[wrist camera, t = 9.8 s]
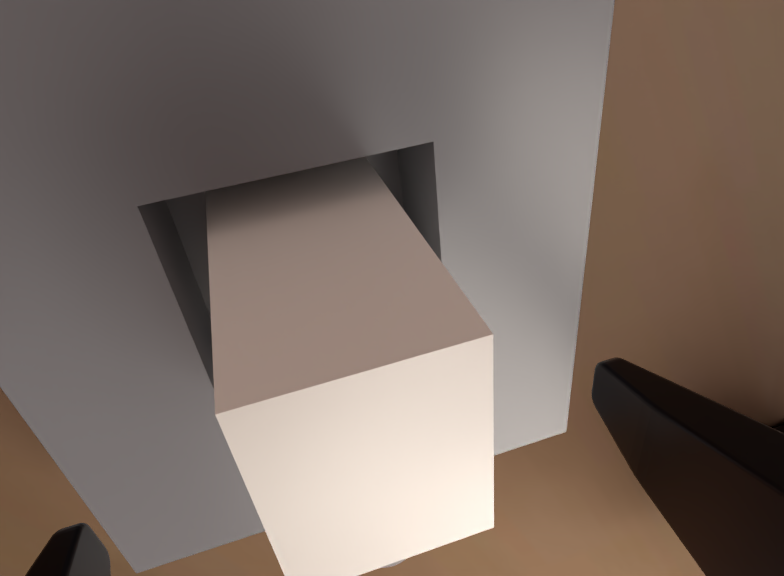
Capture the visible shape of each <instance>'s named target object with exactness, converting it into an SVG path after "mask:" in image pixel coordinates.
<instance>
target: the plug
mask: <svg viewBox="0 0 784 576" xmlns="http://www.w3.org/2000/svg"><path fill="white" fill-rule="evenodd" d="M205 195H206V218H207V241H208V264H209V287H210V310H211V333H212V356H213V378H214V401H215V416H216V418H217V420H218V422H219V425H220V427H221V429H222V432H223V434H224V436H225V439H226V441H227V443H228V446H229V448H230V450H231V453H232V455H233V457H234V460H235V462H236V464H237V466H238V469H239V471H240V473H241V476H242V478H243V480H244V483H245V485H246V487H247V490H248V492H249V494H250V497H251V499H252V501H253V503H254V506H255V508H256V510H257V513H258V515H259V517H260V520H261V522H262V524H263V527H264V529H265V531H266V534H267V536H268V538H269V541H270V543H271V545H272V547H273V550H274V552H275V554H276V557H277V559H278V561H279V564H280V566H281V568H282V571H283V573H284V575H285V576H358V575H361V574H364V573H366V572H369V571H372V570H375V569H378V568H386V567H391V566H395V565H397V564H399V563H401V562H403V561H404V560H405V559H407V558H409V557H412V556H414V555H417V554H420V553H423V552H426V551H429V550H431V549H434V548H437V547H440V546H443V545H446V544H448V543H451V542H454V541H457V540H460V539H463V538H465V537H468V536H471V535H474V534H477V533H479V532H482V531H485V530H488V529H491V528H494V396H493V333H492V332H491V330H490V329H489V328H488V326H487V325H486V323H485V322H484V321H483V319H482V318H481V317H480V315H479V314H478V312H477V311H476V310H475V308H474V307H473V305H472V304H471V303H470V301H469V300H468V298H467V297H466V296H465V294H464V293H463V292H462V290H461V289H460V287H459V286H458V285H457V283H456V282H455V280H454V279H453V278H452V276H451V275H450V273H449V272H448V271H447V269H446V268H445V267H444V265H443V264H442V262H441V261H440V260H439V258H438V257H437V255H436V254H435V253H434V251H433V250H432V248H431V247H430V246H429V244H428V243H427V242H426V240H425V239H424V237H423V236H422V235H421V233H420V232H419V230H418V229H417V228H416V226H415V225H414V223H413V222H412V221H411V219H410V218H409V217H408V215H407V214H406V212H405V211H404V210H403V208H402V207H401V205H400V204H399V203H398V201H397V200H396V198H395V197H394V196H393V194H392V193H391V192H390V190H389V189H388V187H387V186H386V185H385V183H384V182H383V180H382V179H381V178H380V176H379V175H378V174H377V172H376V171H375V169H374V168H373V167H372V165H371V164H370V162H369V161H368V160H367V158H366V157H360V158H356V159H351V160H347V161H342V162H338V163H333V164H328V165H324V166H319V167H315V168H310V169H305V170H301V171H296V172H292V173H287V174H283V175H278V176H273V177H269V178H264V179H260V180H255V181H250V182H246V183H241V184H237V185H232V186H228V187H223V188H218V189H214V190H209V191H205Z"/></svg>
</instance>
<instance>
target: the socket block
mask: <svg viewBox="0 0 784 576" xmlns="http://www.w3.org/2000/svg"><path fill="white" fill-rule="evenodd" d="M614 2H615V0H0V387H1V389H2V390H3V391H4V393H5V394H6V395H7V397H8V398H9V400H10V401H11V402H12V404H13V405H14V406H15V408H16V409H17V411H18V412H19V413H20V415H21V416H22V417H23V419H24V420H25V421H26V423H27V424H28V426H29V427H30V428H31V430H32V431H33V432H34V434H35V435H36V437H37V438H38V439H39V441H40V442H41V443H42V445H43V446H44V448H45V449H46V450H47V452H48V453H49V454H50V456H51V457H52V458H53V460H54V461H55V463H56V464H57V465H58V467H59V468H60V469H61V471H62V472H63V474H64V475H65V476H66V478H67V479H68V480H69V482H70V483H71V484H72V486H73V487H74V489H75V490H76V491H77V493H78V494H79V495H80V497H81V498H82V500H83V501H84V502H85V504H86V505H87V506H88V508H89V509H90V510H91V512H92V513H93V515H94V516H95V517H96V519H97V520H98V521H99V523H100V524H101V526H102V527H103V528H104V530H105V531H106V532H107V534H108V535H109V536H110V538H111V539H112V541H113V542H114V543H115V545H116V546H117V547H118V549H119V550H120V552H121V553H122V554H123V556H124V557H125V558H126V560H127V561H128V562H129V564H130V565H131V567H132V568H133V569H134V571H135V572H136V573H139V572H142V571H145V570H148V569H151V568H154V567H157V566H160V565H163V564H166V563H169V562H172V561H175V560H178V559H181V558H184V557H187V556H191V555H194V554H197V553H200V552H203V551H206V550H209V549H212V548H215V547H218V546H221V545H224V544H227V543H230V542H233V541H236V540H239V539H242V538H245V537H248V536H251V535H254V534H257V533H260V532H263V531H265V529H264V527H263V524H262V522H261V520H260V517H259V515H258V513H257V510H256V508H255V506H254V503H253V501H252V499H251V497H250V494H249V492H248V490H247V487H246V485H245V483H244V480H243V478H242V476H241V473H240V471H239V469H238V466H237V464H236V462H235V460H234V457H233V455H232V453H231V450H230V448H229V446H228V443H227V441H226V439H225V436H224V434H223V432H222V429H221V427H220V425H219V422H218V420H217V418H216V416H215V401H214V378H213V356H212V333H211V310H210V287H209V264H208V241H207V218H206V195H205V191H209V190H214V189H218V188H223V187H228V186H232V185H237V184H241V183H246V182H250V181H255V180H260V179H264V178H269V177H273V176H278V175H283V174H287V173H292V172H296V171H301V170H305V169H310V168H315V167H319V166H324V165H328V164H333V163H338V162H342V161H347V160H351V159H356V158H360V157H366V158H367V160H368V161H369V162H370V164H371V165H372V167H373V168H374V169H375V171H376V172H377V174H378V175H379V176H380V178H381V179H382V180H383V182H384V183H385V185H386V186H387V187H388V189H389V190H390V192H391V193H392V194H393V196H394V197H395V198H396V200H397V201H398V203H399V204H400V205H401V207H402V208H403V210H404V211H405V212H406V214H407V215H408V217H409V218H410V219H411V221H412V222H413V223H414V225H415V226H416V228H417V229H418V230H419V232H420V233H421V235H422V236H423V237H424V239H425V240H426V242H427V243H428V244H429V246H430V247H431V248H432V250H433V251H434V253H435V254H436V255H437V257H438V258H439V260H440V261H441V262H442V264H443V265H444V267H445V268H446V269H447V271H448V272H449V273H450V275H451V276H452V278H453V279H454V280H455V282H456V283H457V285H458V286H459V287H460V289H461V290H462V292H463V293H464V294H465V296H466V297H467V298H468V300H469V301H470V303H471V304H472V305H473V307H474V308H475V310H476V311H477V312H478V314H479V315H480V317H481V318H482V319H483V321H484V322H485V323H486V325H487V326H488V328H489V329H490V330H491V332H492V333H493V396H494V455H497V454H500V453H503V452H506V451H509V450H512V449H515V448H518V447H521V446H525V445H528V444H531V443H534V442H537V441H540V440H543V439H546V438H549V437H552V436H555V435H558V434H561V433H564V432H566V430H567V421H568V412H569V403H570V394H571V385H572V376H573V367H574V358H575V350H576V341H577V332H578V323H579V314H580V305H581V296H582V287H583V278H584V269H585V260H586V252H587V243H588V234H589V225H590V216H591V207H592V198H593V189H594V180H595V171H596V162H597V153H598V145H599V136H600V127H601V118H602V109H603V100H604V91H605V82H606V73H607V64H608V55H609V47H610V38H611V29H612V20H613V11H614Z"/></svg>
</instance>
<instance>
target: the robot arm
mask: <svg viewBox="0 0 784 576" xmlns="http://www.w3.org/2000/svg"><path fill="white" fill-rule="evenodd" d="M592 400H593V403H594V405H595V407H596V409H597V411H598V413H599V414H600V416H601V418H602V420H603V421H604V423H605V425H606V427H607V428H608V430H609V432H610V434H611V435H612V437H613V439H614V441H615V442H616V444H617V446H618V448H619V449H620V451H621V453H622V455H623V456H624V458H625V460H626V462H627V464H628V465H629V467H630V469H631V470H632V472H633V474H634V475H635V477H636V478H637V480H638V481H639V483H640V484H641V486H642V487H643V489H644V490H645V491H646V493H647V494H648V496H649V497H650V498H651V500H652V501H653V502H654V504H655V505H656V507H657V508H658V509H659V511H660V512H661V514H662V515H663V516H664V518H665V519H666V521H667V522H668V523H669V525H670V526H671V528H672V529H673V530H674V532H675V533H676V535H677V536H678V537H679V539H680V540H681V542H682V543H683V544H684V546H685V547H686V549H687V550H688V551H689V553H690V554H691V556H692V557H693V558H694V560H695V561H696V563H697V564H698V565H699V567H700V568H701V570H702V571H703V572H704V574H705V575H706V576H784V425H782V426H779V427H776V428H771V427H769V426H767V425H765V424H763V423H760V422H758V421H756V420H754V419H752V418H750V417H747V416H745V415H743V414H741V413H739V412H737V411H734V410H732V409H730V408H728V407H726V406H724V405H721V404H719V403H717V402H715V401H713V400H711V399H708V398H706V397H704V396H702V395H700V394H698V393H695V392H693V391H691V390H689V389H687V388H685V387H682V386H680V385H678V384H676V383H674V382H672V381H669V380H667V379H665V378H663V377H661V376H659V375H656V374H654V373H652V372H650V371H648V370H646V369H643V368H641V367H639V366H637V365H635V364H633V363H630V362H628V361H626V360H624V359H621V358H612V359H609V360H605V361H602V362H600V363H598V364H597V365H596V367H595V373H594V380H593V387H592ZM25 576H111V574H110V558H109V554H108V551H107V549H106V548H105V546H104V545H103V544H102V542H101V541H100V540H99V538H98V537H97V536H96V534H95V533H94V532H93V530H92V529H91V528H90V527H89V526H88V525H87V524H85V523H79V524H76V525H72V526H69V527H66V528H63V529H60V530H58V531H57V532H56V533H55V534H53V536H52V537H51V538H50V540H49V541H48V543H47V544H46V546H45V547H44V549H43V550H42V552H41V553H40V555H39V556H38V557H37V559H36V560H35V562H34V563H33V565H32V566H31V568H30V569H29V571H28V572H27V574H26V575H25Z"/></svg>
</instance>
